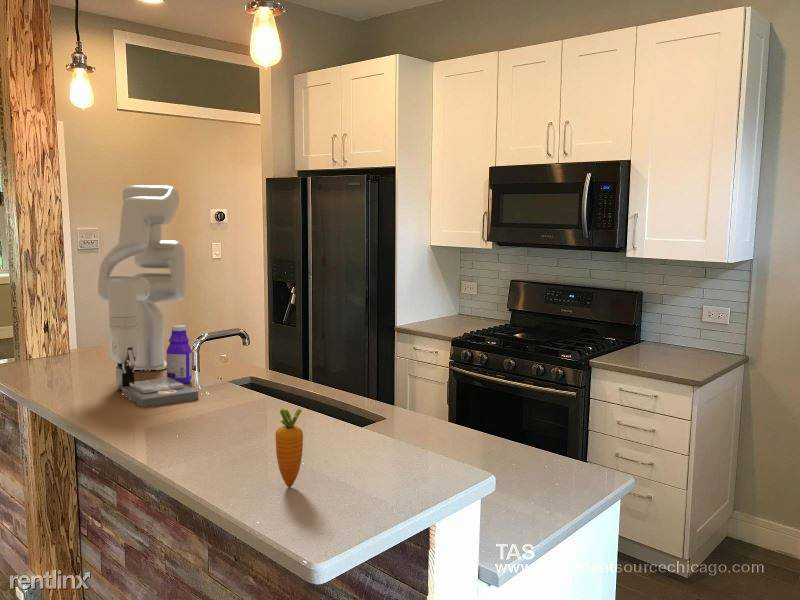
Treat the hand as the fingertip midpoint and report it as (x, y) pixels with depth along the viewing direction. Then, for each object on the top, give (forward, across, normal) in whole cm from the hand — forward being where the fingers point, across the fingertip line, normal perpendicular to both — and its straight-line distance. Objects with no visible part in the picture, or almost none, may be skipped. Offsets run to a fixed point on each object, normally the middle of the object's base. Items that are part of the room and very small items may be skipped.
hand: (125, 384), depth 193 cm
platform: (-1, +11, +5) cm, 12 cm away
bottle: (+2, 0, +16) cm, 16 cm away
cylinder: (+1, 0, 0) cm, 1 cm away
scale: (+2, +14, +5) cm, 15 cm away
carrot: (+2, +92, 0) cm, 92 cm away
